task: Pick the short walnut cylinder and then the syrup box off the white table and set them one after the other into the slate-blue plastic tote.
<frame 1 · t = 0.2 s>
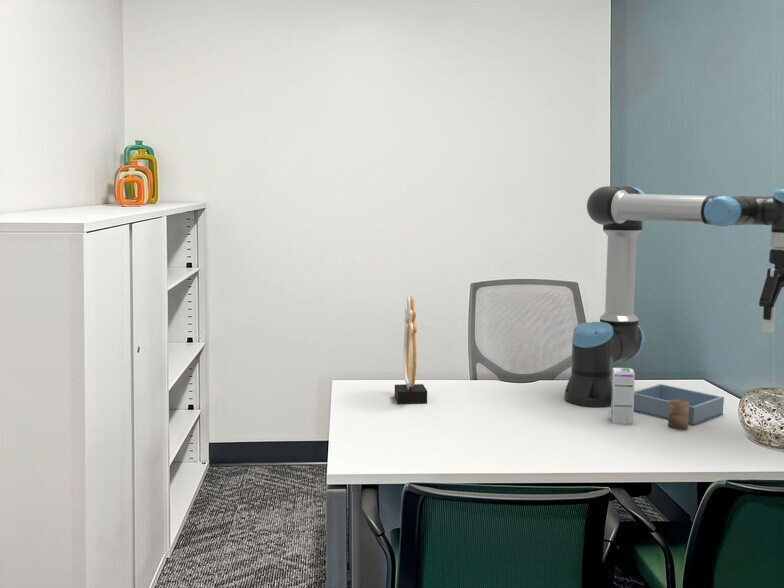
hand: (779, 329, 203), 27 cm above the table, fingers open, 13 cm apart
tote: (675, 411, 224), on the table
syrup box: (621, 421, 215), on the table
abstract figure sculpture: (410, 400, 234), on the table
walnut cylinder: (677, 427, 209), on the table
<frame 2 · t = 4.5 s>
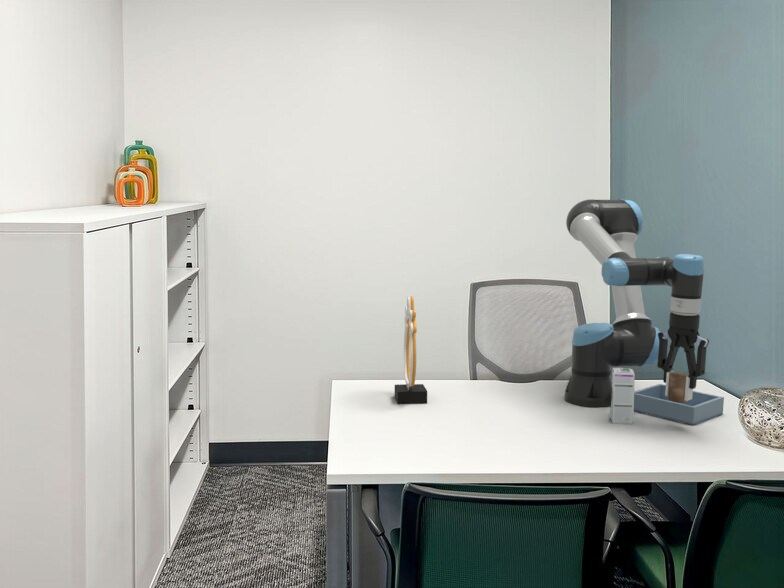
hand: (678, 397, 209), 8 cm above the table, fingers closed on walnut cylinder, 5 cm apart
walnut cylinder: (678, 399, 209), point 7 cm above the table, touching gripper
everything else where it was.
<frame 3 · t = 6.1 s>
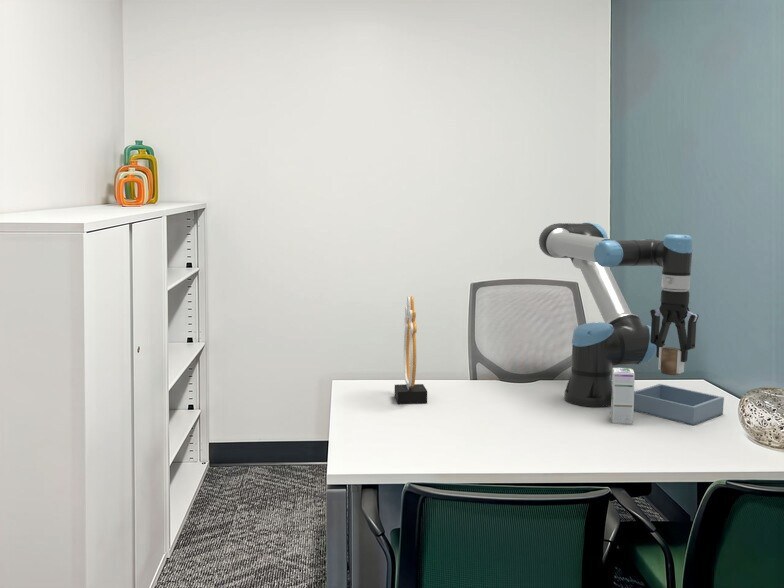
hand: (670, 370, 219), 13 cm above the table, fingers closed on walnut cylinder, 5 cm apart
walnut cylinder: (670, 373, 219), point 12 cm above the table, touching gripper
everything else where it was.
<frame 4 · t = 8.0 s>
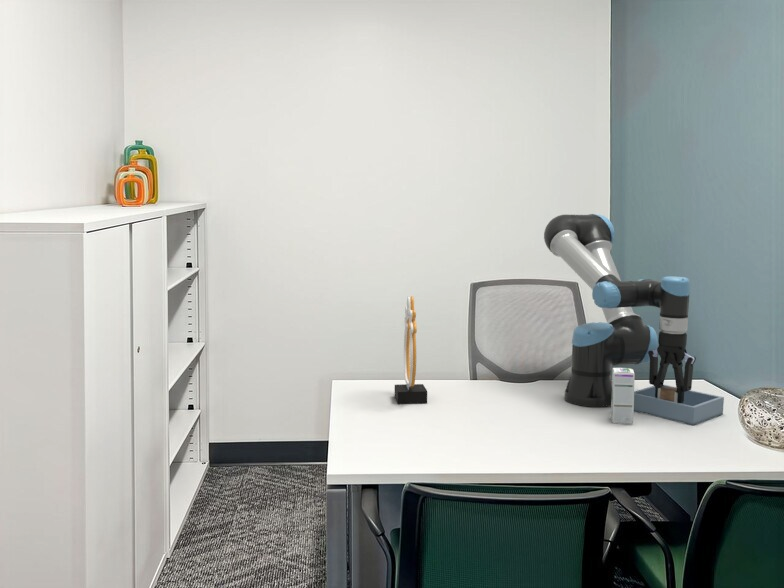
hand: (668, 411, 221), 1 cm above the table, fingers closed on tote, walnut cylinder, 4 cm apart
walnut cylinder: (668, 412, 221), point 1 cm above the table, touching gripper
everything else where it was.
when the fingers open (1 cm above the table, at t = 8.0 s): walnut cylinder stays where it is, resting on tote.
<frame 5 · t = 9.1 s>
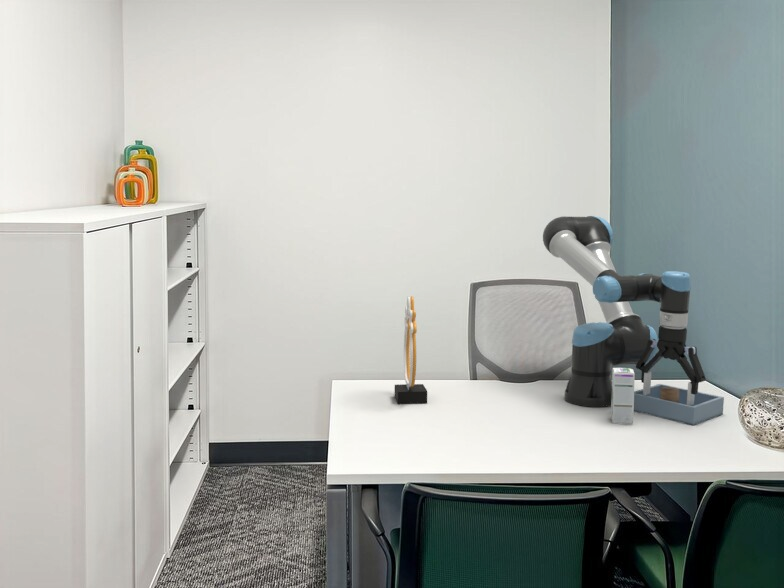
hand: (667, 399, 221), 4 cm above the table, fingers open, 13 cm apart
walnut cylinder: (668, 412, 221), resting on tote
everything else where it was.
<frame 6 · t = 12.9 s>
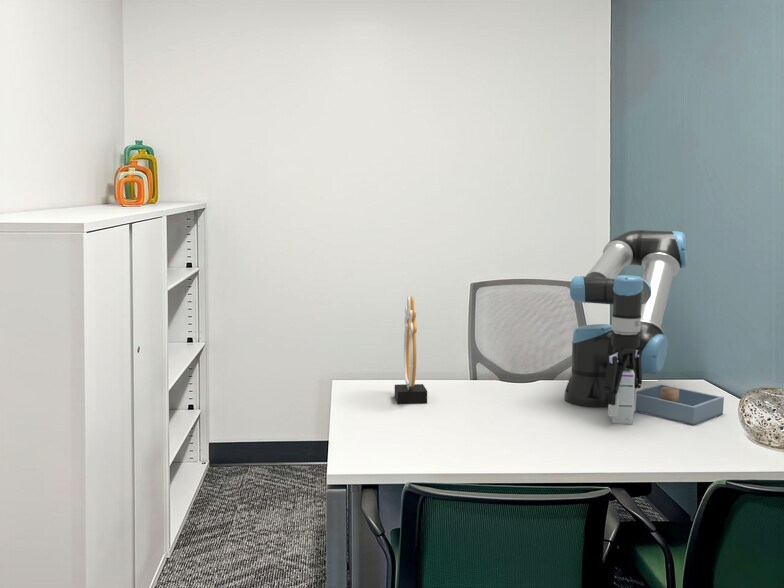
hand: (621, 412, 214), 2 cm above the table, fingers closed on syrup box, 8 cm apart
syrup box: (621, 421, 214), on the table, touching gripper
everything else where it was.
when the fingers open (5 cm above the table, at t = 19.5 s): syrup box drops 2 cm, resting on tote.
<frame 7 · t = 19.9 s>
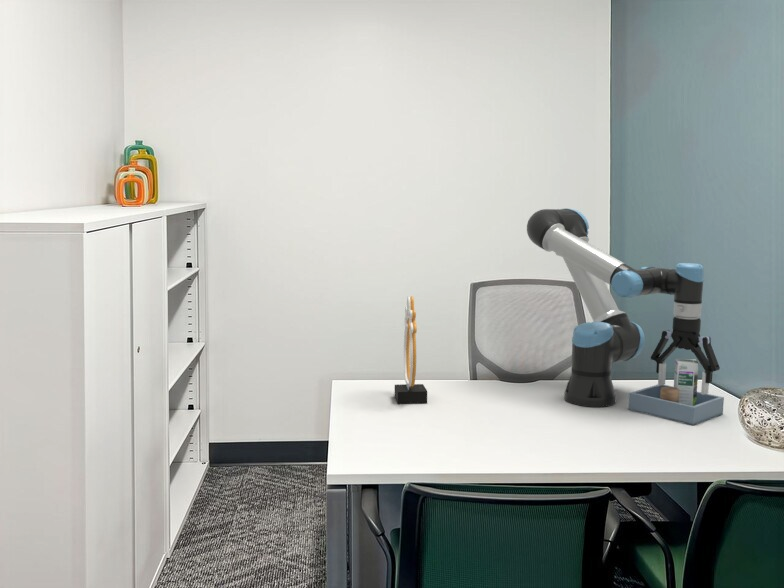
hand: (682, 389, 225), 6 cm above the table, fingers open, 13 cm apart
syrup box: (683, 409, 225), resting on tote
everything else where it was.
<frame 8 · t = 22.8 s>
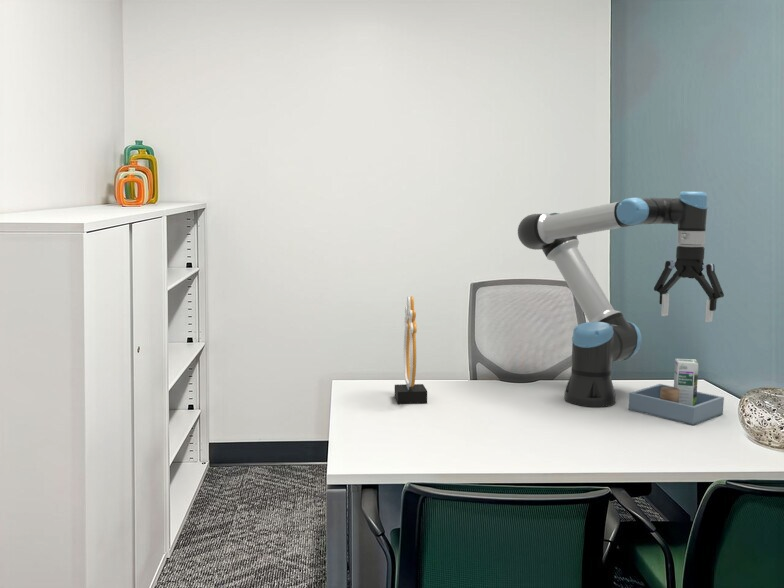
hand: (686, 318, 224), 27 cm above the table, fingers open, 13 cm apart
nothing on the table moved.
at the end: syrup box inside the target area on the tote (3.4 cm from its centre), point 0.3 cm above the tote's base; walnut cylinder inside the target area on the tote (4.1 cm from its centre), point 0.5 cm above the tote's base; the gripper is holding nothing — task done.
